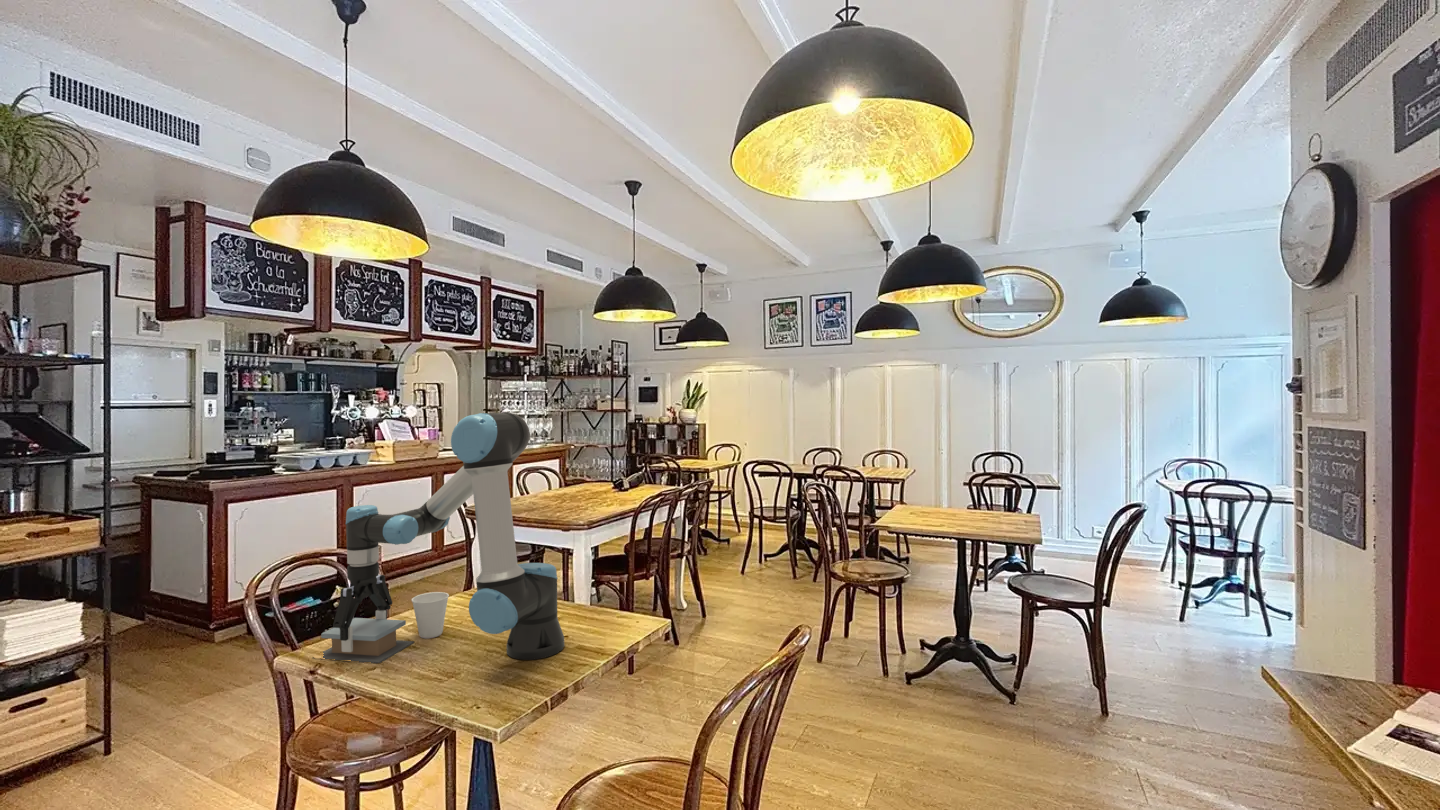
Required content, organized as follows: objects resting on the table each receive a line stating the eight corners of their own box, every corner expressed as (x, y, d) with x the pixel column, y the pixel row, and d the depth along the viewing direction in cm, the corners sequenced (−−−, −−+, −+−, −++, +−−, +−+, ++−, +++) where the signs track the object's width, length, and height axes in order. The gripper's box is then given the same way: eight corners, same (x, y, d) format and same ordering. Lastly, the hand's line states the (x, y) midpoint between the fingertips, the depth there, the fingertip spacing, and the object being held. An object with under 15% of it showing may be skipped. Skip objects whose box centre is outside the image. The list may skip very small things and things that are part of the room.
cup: (440, 641, 178) (439, 602, 178) (405, 641, 178) (404, 602, 178) (455, 628, 188) (454, 591, 188) (422, 628, 188) (421, 591, 188)
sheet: (405, 624, 176) (405, 620, 176) (375, 641, 165) (375, 636, 165) (355, 622, 179) (354, 617, 179) (321, 638, 167) (321, 633, 167)
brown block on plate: (414, 642, 177) (414, 624, 177) (379, 663, 163) (378, 644, 163) (351, 638, 181) (351, 621, 181) (311, 658, 167) (311, 639, 167)
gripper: (382, 551, 184) (383, 625, 185) (315, 575, 160) (317, 659, 161) (405, 552, 183) (406, 626, 183) (341, 576, 159) (343, 661, 159)
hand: (364, 642), depth 172 cm, fingers closed on sheet, 12 cm apart
